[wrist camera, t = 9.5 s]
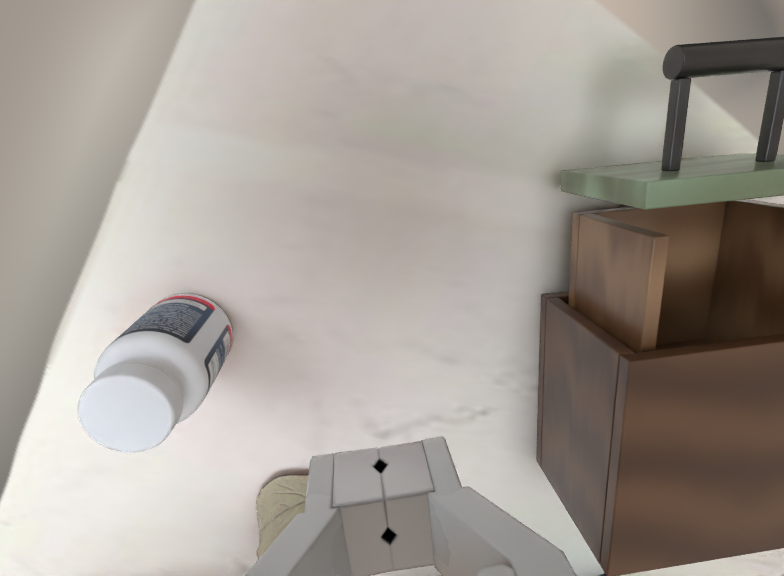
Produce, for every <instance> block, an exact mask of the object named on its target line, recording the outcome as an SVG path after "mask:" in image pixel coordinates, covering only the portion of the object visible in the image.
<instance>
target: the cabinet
mask: <svg viewBox="0 0 784 576" xmlns="http://www.w3.org/2000/svg"><path fill="white" fill-rule="evenodd" d="M568 304H569V291H567V292H559V293H550V294H542V295H541V329H540V364H539V398H538V433H537V462H538V464H539V465H540V467H541V468H542V470H543V472H544V473H545V475H546V477H547V478H548V480H549V482H550V483H551V485H552V487H553V488H554V490H555V492H556V493H557V495H558V496H559V498H560V500H561V501H562V503H563V505H564V506H565V508H566V510H567V511H568V513H569V515H570V516H571V518H572V520H573V521H574V523H575V524H576V526H577V528H578V529H579V531H580V533H581V534H582V536H583V538H584V539H585V541H586V543H587V544H588V546H589V547H590V549H591V551H592V552H593V554H594V556H595V557H596V559H597V561H598V562H599V564H600V565H601V567H602V569H603V571H604V572H605V574H606V575H607V576H619V575H625V574H631V573H637V572H643V571H649V570H655V569H661V568H667V567H673V566H679V565H685V564H691V563H697V562H703V561H709V560H715V559H721V558H727V557H733V556H739V555H745V554H751V553H757V552H763V551H769V550H775V549H781V548H784V334H778V335H771V336H763V337H755V338H747V339H740V340H732V341H724V342H716V343H708V344H701V345H693V346H685V347H677V348H669V349H662V350H654V351H646V352H638V353H634V352H633V351H632V350H630V349H629V348H628V347H626V346H625V345H623V344H622V343H621V342H619V341H618V340H617V339H615V338H614V337H612V336H611V335H610V334H608V333H607V332H605V331H604V330H603V329H601V328H600V327H598V326H597V325H596V324H594V323H593V322H592V321H590V320H589V319H587V318H586V317H585V316H583V315H582V314H580V313H579V312H578V311H576V310H575V309H573V308H572V307H571V306H569V305H568Z"/></svg>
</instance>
